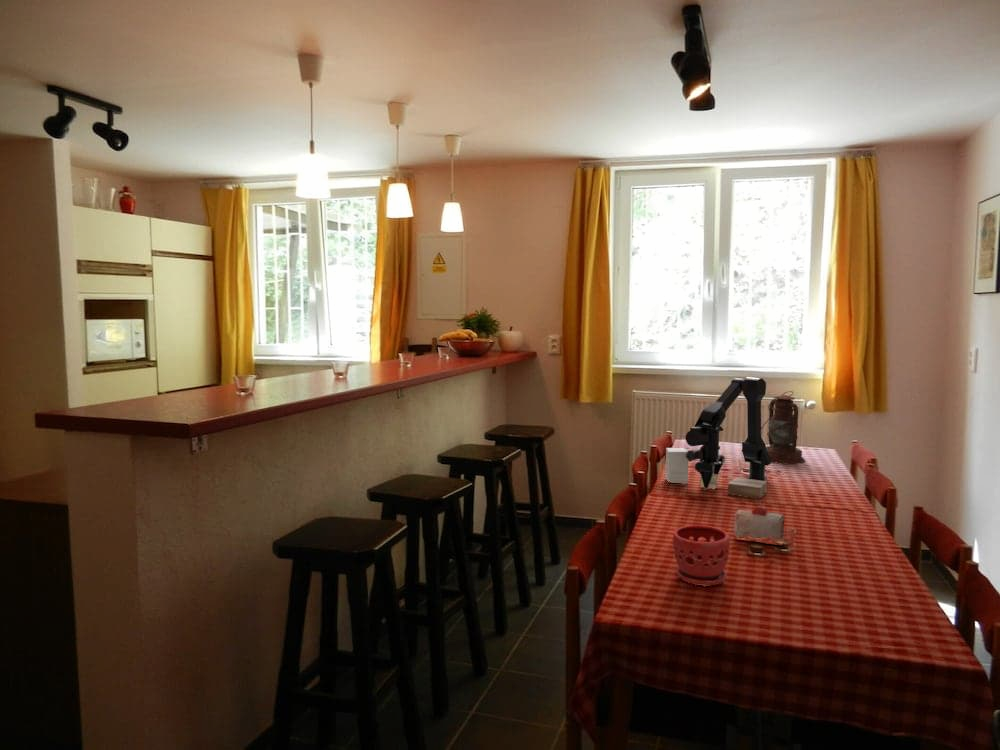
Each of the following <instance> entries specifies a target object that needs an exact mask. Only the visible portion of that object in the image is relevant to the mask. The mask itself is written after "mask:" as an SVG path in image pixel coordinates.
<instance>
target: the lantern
mask: <svg viewBox="0 0 1000 750" xmlns="http://www.w3.org/2000/svg"><path fill="white" fill-rule="evenodd" d="M786 393H791V394H790V395H786ZM793 395H794V392H793V391H791V390H790V391H786V392H783V393H782V394H781V395H777V396H773V399H772V400H771V401H770V402H769V404H768V406H769V407H768V413H769V414H768V415H769V416H768V419H767V420H766V421H765V422H764V424H763V425H762V426H761V431H762V430H763V428H764V426H765V425H766V424H767V425H768V426H767V428H768V432H767V433H766V436H767V437H768V444H769V445H766V452H767V453H768V455H769V456H770V458H771V459H772V460H771V462H777V463H776V464H778V463H787V464H786V465H797V464H796V463H801V464H804V463H805V462H806V460H805V458H804V457H802V456H803V451H802V450H801V449H800V448H797V441H798V428H799V424H798V423H799V407H798V405H797V404H796V403H795V402H794V400H796V397H792V396H793ZM803 462H804V463H803Z"/></svg>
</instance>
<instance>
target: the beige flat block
mask: <svg viewBox="0 0 1000 750" xmlns="http://www.w3.org/2000/svg"><path fill="white" fill-rule="evenodd" d="M767 483H768V481H767V480H765V481H761V480H754V479H747V477H746V478H745V477H734V478H733V479H731V480H730V482H728V483H727V495H728V494H735V495H741V496H747V497H746V498H748V497H752V498H751V499H755V498H759V499H758V500H761V499H762V498H763V497H764V496H765V494H766V493H767V487H768V486H767V485H768V484H767ZM741 496H740V497H741ZM762 496H763V497H762ZM761 497H762V498H761ZM760 498H761V499H760Z"/></svg>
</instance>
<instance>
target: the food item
mask: <svg viewBox="0 0 1000 750" xmlns="http://www.w3.org/2000/svg"><path fill="white" fill-rule="evenodd" d="M734 518H735V519H734V526H733V527H734V537H735V536H736V537H738V538H744V537H746V536H750V537H756V538H762V537H771V538H775V539H782V538H783V536H784V537H785V529H784V527H785V515H784V514H781V513H774V512H768V511H767V509H766V508H764V507H762V505H759V506H756V507H752V510H749V509H738V510H737V511H736V512H735V513H734ZM783 533H784V535H783ZM736 537H735V538H736Z"/></svg>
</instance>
